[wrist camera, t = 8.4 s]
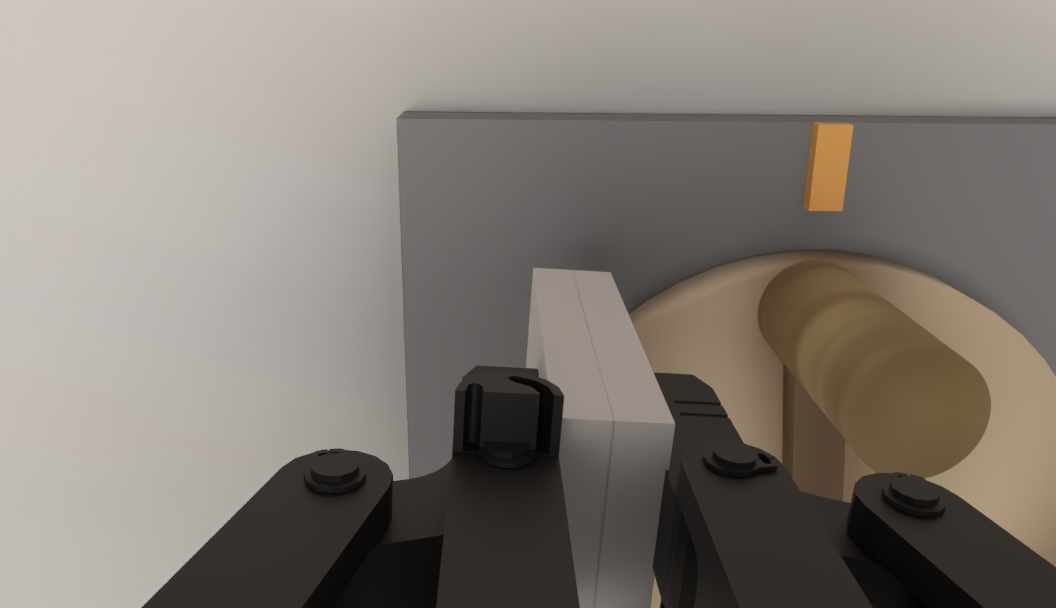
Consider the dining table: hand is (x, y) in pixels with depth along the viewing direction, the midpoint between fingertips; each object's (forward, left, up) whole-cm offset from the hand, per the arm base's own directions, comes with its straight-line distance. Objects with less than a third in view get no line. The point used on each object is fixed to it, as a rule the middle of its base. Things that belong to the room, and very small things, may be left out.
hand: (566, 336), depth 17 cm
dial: (-6, -6, -4) cm, 10 cm away
